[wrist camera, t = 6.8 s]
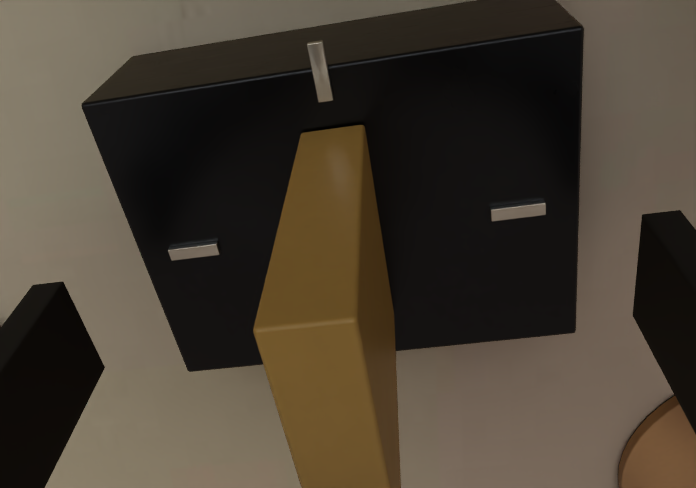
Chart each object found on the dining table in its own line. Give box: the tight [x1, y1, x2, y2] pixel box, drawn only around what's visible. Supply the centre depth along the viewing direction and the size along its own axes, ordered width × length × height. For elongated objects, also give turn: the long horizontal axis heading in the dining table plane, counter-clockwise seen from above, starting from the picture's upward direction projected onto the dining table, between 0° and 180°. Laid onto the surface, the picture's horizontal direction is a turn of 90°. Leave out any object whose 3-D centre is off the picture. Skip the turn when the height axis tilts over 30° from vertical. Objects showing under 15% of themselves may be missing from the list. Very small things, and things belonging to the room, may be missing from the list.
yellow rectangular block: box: [253, 125, 401, 488], centre depth 14 cm, size 6×2×8 cm, turn 9°
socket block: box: [82, 0, 584, 372], centre depth 19 cm, size 12×10×4 cm
